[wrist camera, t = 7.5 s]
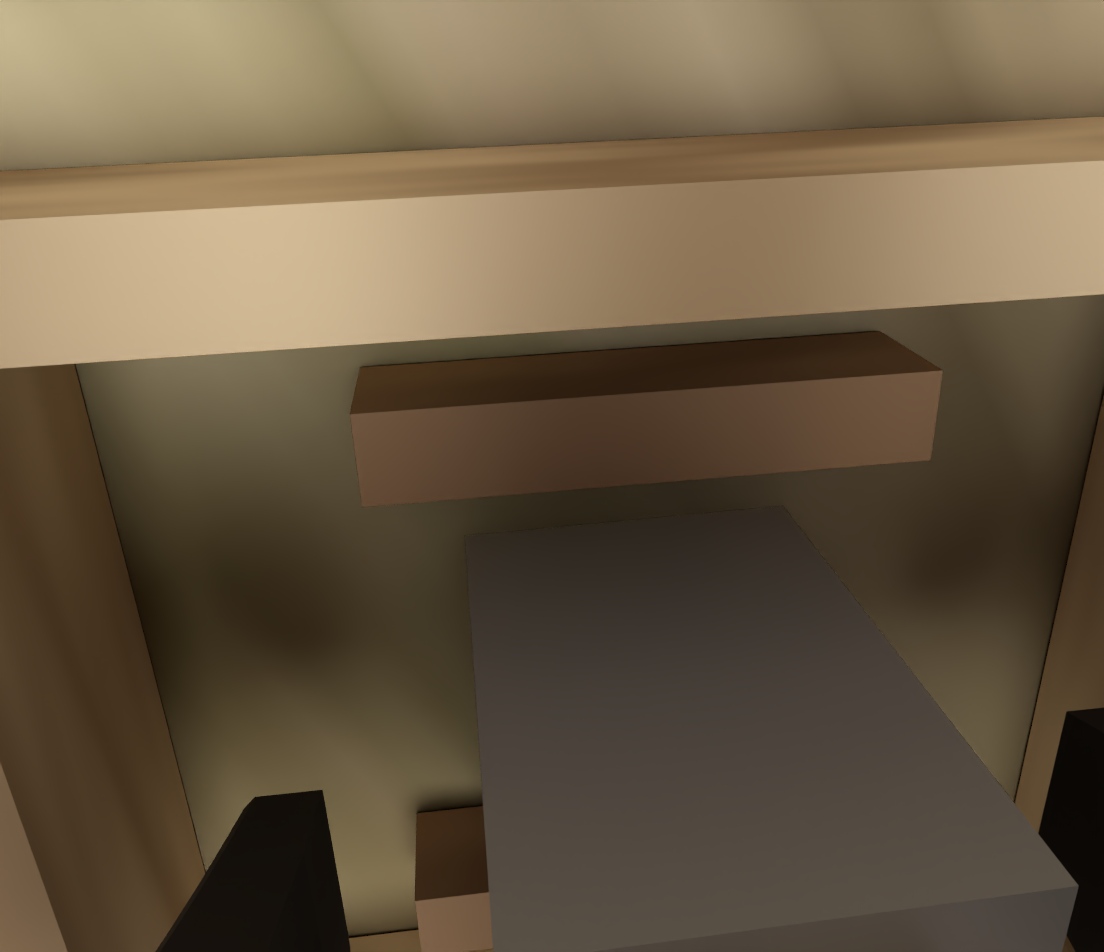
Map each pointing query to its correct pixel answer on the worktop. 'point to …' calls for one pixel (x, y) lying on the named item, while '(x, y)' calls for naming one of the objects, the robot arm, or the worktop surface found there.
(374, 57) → the worktop surface
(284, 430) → the worktop surface
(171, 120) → the worktop surface
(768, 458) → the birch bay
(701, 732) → the slate plug
